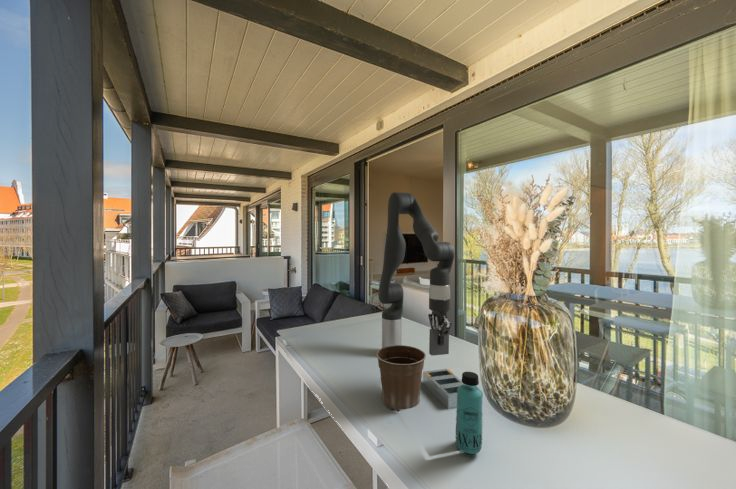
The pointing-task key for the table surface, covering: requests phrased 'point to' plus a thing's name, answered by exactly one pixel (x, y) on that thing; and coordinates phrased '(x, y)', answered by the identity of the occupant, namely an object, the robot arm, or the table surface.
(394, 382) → the plant pot
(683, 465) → the table surface
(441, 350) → the panel
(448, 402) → the rack
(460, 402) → the beverage bottle
